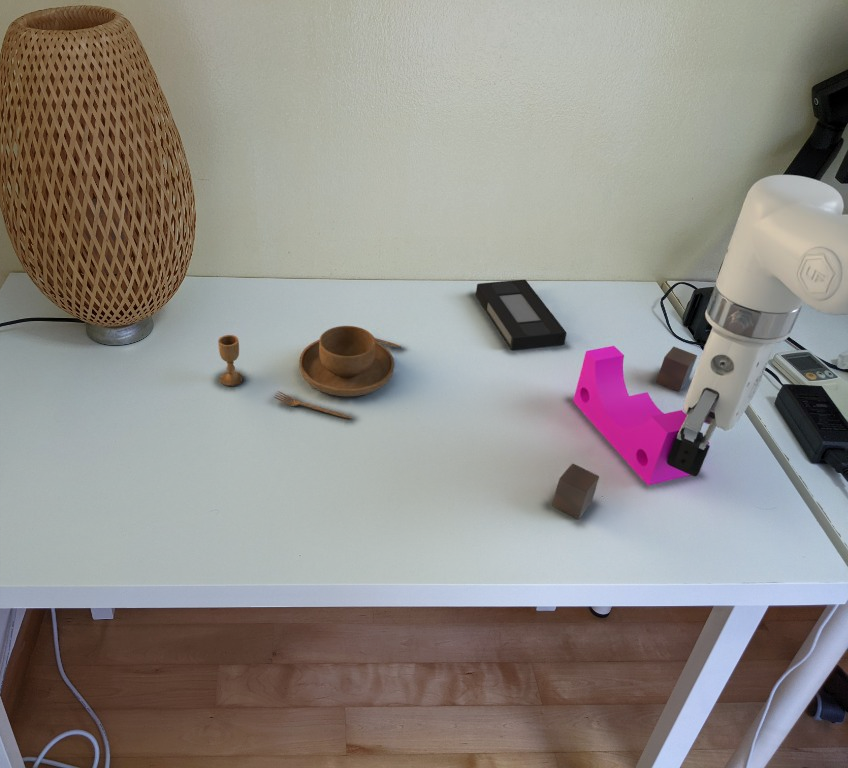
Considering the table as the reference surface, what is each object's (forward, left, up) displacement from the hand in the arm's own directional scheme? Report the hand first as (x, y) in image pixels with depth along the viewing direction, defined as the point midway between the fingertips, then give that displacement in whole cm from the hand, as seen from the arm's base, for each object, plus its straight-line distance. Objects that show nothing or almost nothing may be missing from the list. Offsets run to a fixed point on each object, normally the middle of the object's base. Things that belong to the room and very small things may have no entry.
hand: (698, 445), depth 83 cm
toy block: (+7, -1, -3) cm, 8 cm away
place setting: (+43, +13, -3) cm, 45 cm away
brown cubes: (+7, 0, -3) cm, 8 cm away
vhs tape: (+29, -14, -3) cm, 33 cm away
